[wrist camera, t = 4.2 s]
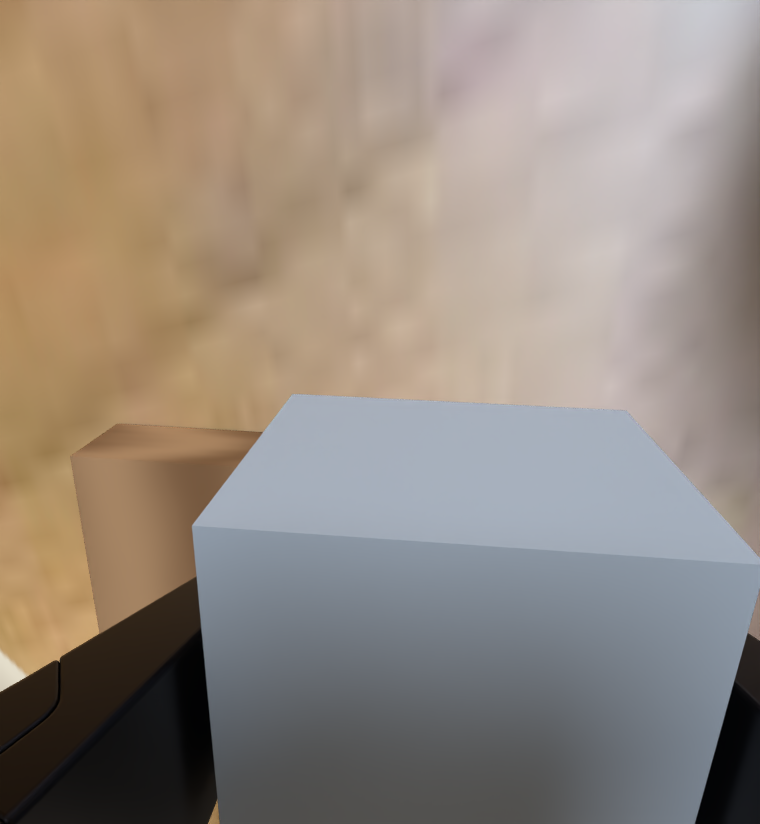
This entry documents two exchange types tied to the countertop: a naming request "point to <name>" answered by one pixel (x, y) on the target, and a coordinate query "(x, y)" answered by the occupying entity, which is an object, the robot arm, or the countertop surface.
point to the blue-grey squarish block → (465, 619)
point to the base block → (147, 508)
